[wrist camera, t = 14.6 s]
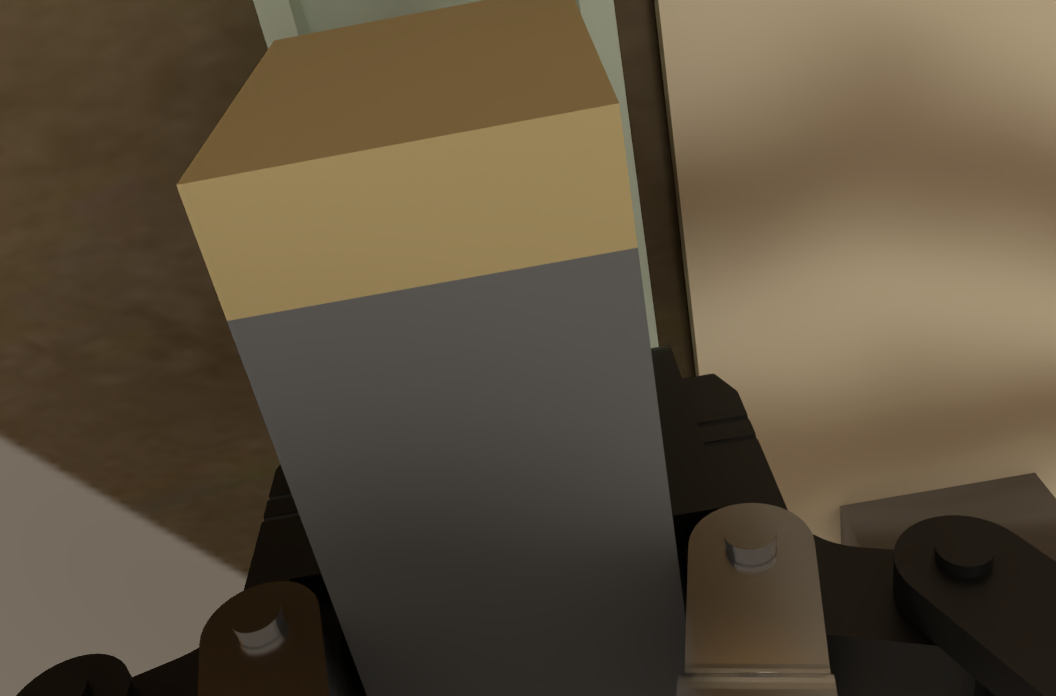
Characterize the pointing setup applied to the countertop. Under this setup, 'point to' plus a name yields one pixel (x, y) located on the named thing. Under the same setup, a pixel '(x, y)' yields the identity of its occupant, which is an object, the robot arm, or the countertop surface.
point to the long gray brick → (454, 347)
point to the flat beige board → (875, 249)
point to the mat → (328, 3)
